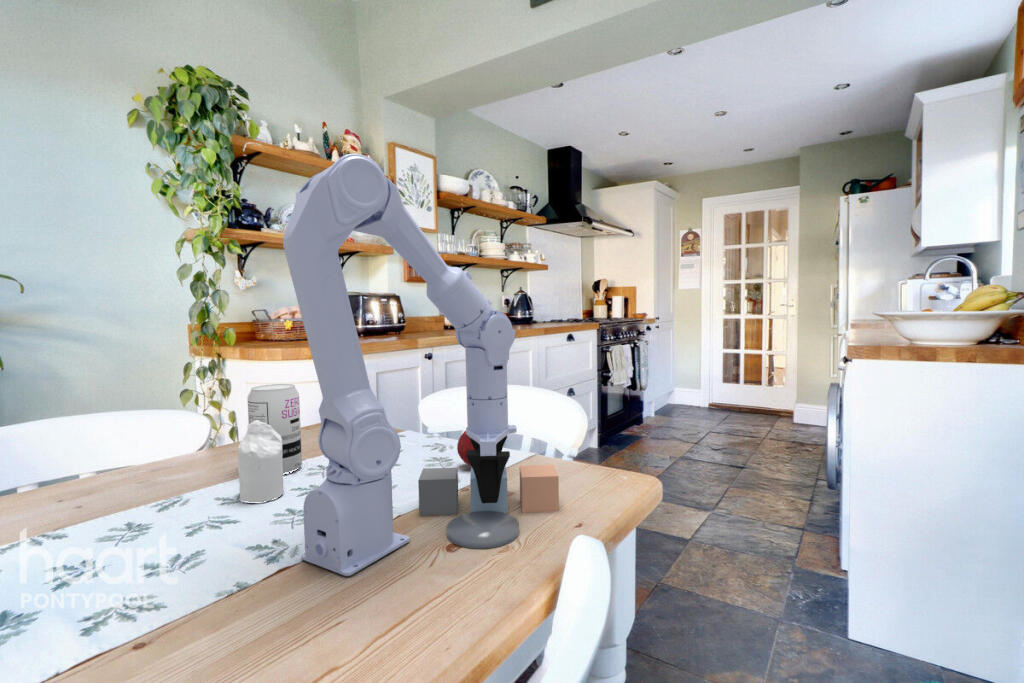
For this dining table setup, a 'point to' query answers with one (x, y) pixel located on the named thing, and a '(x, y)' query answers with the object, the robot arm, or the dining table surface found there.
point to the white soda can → (279, 418)
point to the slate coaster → (483, 529)
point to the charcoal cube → (438, 491)
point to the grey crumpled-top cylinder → (260, 463)
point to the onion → (464, 447)
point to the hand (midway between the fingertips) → (489, 491)
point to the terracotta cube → (539, 488)
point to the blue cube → (498, 507)
